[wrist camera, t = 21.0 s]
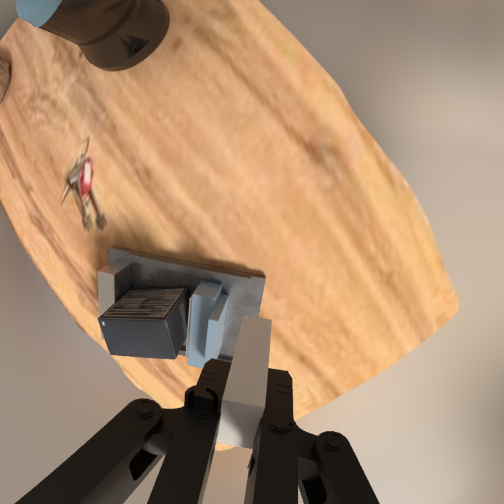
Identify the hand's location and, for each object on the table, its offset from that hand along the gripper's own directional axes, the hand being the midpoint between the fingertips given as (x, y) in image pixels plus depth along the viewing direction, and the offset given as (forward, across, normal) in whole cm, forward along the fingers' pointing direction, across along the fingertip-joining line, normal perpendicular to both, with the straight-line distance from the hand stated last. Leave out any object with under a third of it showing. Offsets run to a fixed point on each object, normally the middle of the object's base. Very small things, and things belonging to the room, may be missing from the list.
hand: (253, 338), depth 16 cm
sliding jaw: (+25, -7, -14) cm, 30 cm away
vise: (+26, -12, -14) cm, 32 cm away
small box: (+26, -15, -14) cm, 33 cm away
